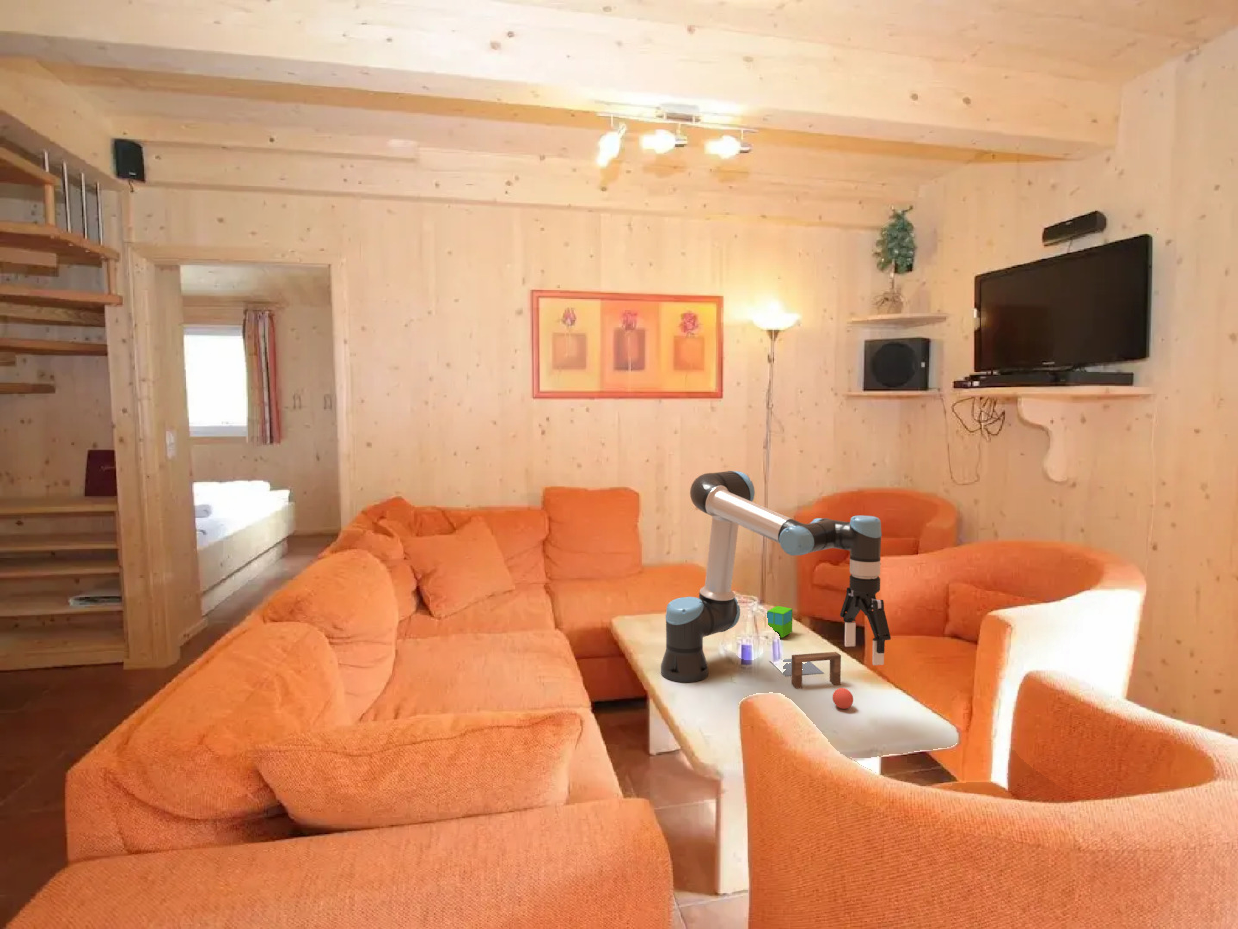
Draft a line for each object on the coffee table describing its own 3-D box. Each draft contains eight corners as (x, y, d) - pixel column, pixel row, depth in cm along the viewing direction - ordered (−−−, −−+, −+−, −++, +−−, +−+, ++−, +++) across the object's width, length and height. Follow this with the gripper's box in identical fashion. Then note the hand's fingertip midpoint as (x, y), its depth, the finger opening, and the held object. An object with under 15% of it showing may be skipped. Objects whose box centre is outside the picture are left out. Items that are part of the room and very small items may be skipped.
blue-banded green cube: (761, 627, 250) (761, 601, 250) (793, 634, 242) (793, 608, 241) (748, 634, 243) (748, 608, 242) (781, 641, 234) (781, 614, 233)
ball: (838, 713, 177) (838, 693, 177) (828, 704, 183) (829, 685, 182) (856, 711, 178) (857, 692, 178) (846, 702, 184) (847, 684, 183)
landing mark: (785, 676, 203) (785, 675, 202) (769, 661, 215) (769, 660, 215) (823, 673, 205) (823, 672, 205) (805, 658, 217) (805, 657, 217)
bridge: (840, 684, 196) (840, 655, 195) (795, 688, 194) (796, 658, 193) (835, 680, 199) (836, 651, 198) (791, 684, 196) (791, 655, 196)
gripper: (907, 586, 156) (905, 671, 158) (852, 564, 181) (851, 638, 182) (878, 588, 155) (877, 674, 157) (828, 565, 180) (827, 639, 181)
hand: (863, 655), depth 170 cm, fingers open, 13 cm apart
